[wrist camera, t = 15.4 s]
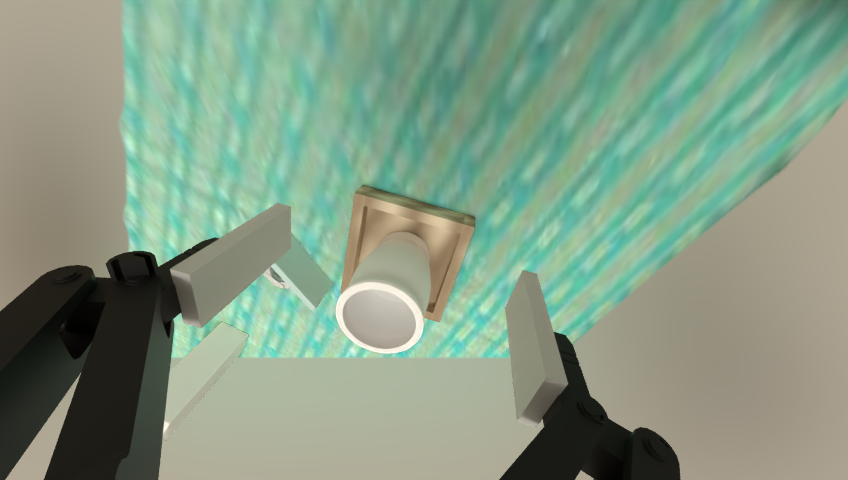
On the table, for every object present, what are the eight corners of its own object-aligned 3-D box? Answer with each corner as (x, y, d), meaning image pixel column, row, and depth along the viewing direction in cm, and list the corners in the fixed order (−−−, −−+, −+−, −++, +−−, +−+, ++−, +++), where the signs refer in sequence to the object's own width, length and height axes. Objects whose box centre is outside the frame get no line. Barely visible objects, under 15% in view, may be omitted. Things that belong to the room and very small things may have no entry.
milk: (222, 320, 62) (108, 427, 43) (249, 334, 63) (150, 445, 43) (217, 338, 65) (108, 446, 45) (243, 351, 65) (147, 462, 46)
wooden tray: (474, 217, 44) (474, 227, 41) (441, 308, 52) (439, 322, 49) (363, 185, 44) (354, 192, 41) (348, 281, 53) (340, 293, 49)
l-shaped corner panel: (244, 256, 54) (212, 280, 47) (289, 227, 50) (262, 249, 43) (289, 304, 58) (266, 332, 51) (335, 280, 54) (316, 308, 47)
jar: (433, 287, 49) (420, 360, 36) (372, 277, 50) (337, 346, 37) (440, 229, 44) (427, 290, 31) (372, 220, 45) (332, 275, 32)
